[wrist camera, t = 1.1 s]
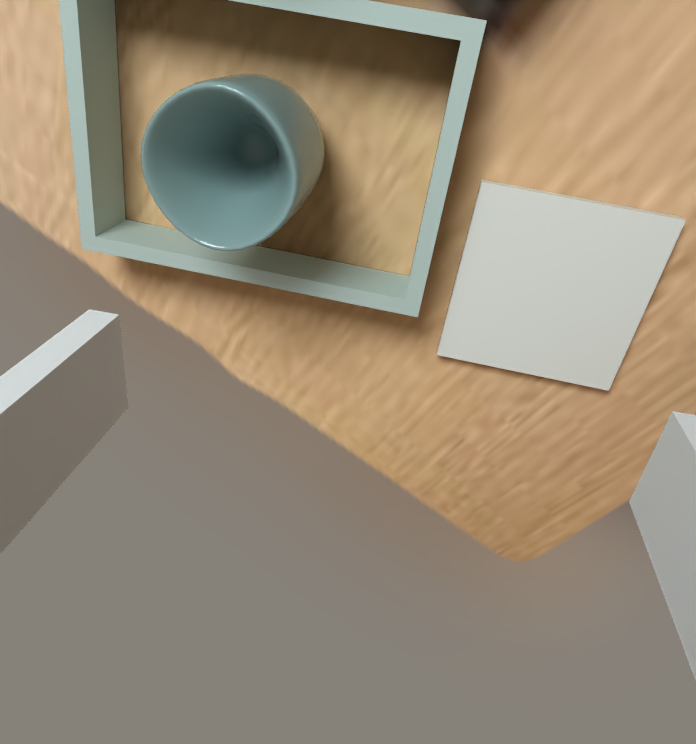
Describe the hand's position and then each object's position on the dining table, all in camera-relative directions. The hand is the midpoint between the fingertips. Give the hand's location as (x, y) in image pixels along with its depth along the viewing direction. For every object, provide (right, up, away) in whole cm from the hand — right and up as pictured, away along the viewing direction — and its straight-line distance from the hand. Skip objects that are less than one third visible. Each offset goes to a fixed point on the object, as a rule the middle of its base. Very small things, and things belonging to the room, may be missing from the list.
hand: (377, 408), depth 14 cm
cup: (-5, +15, +22) cm, 28 cm away
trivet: (+12, +6, +24) cm, 28 cm away
